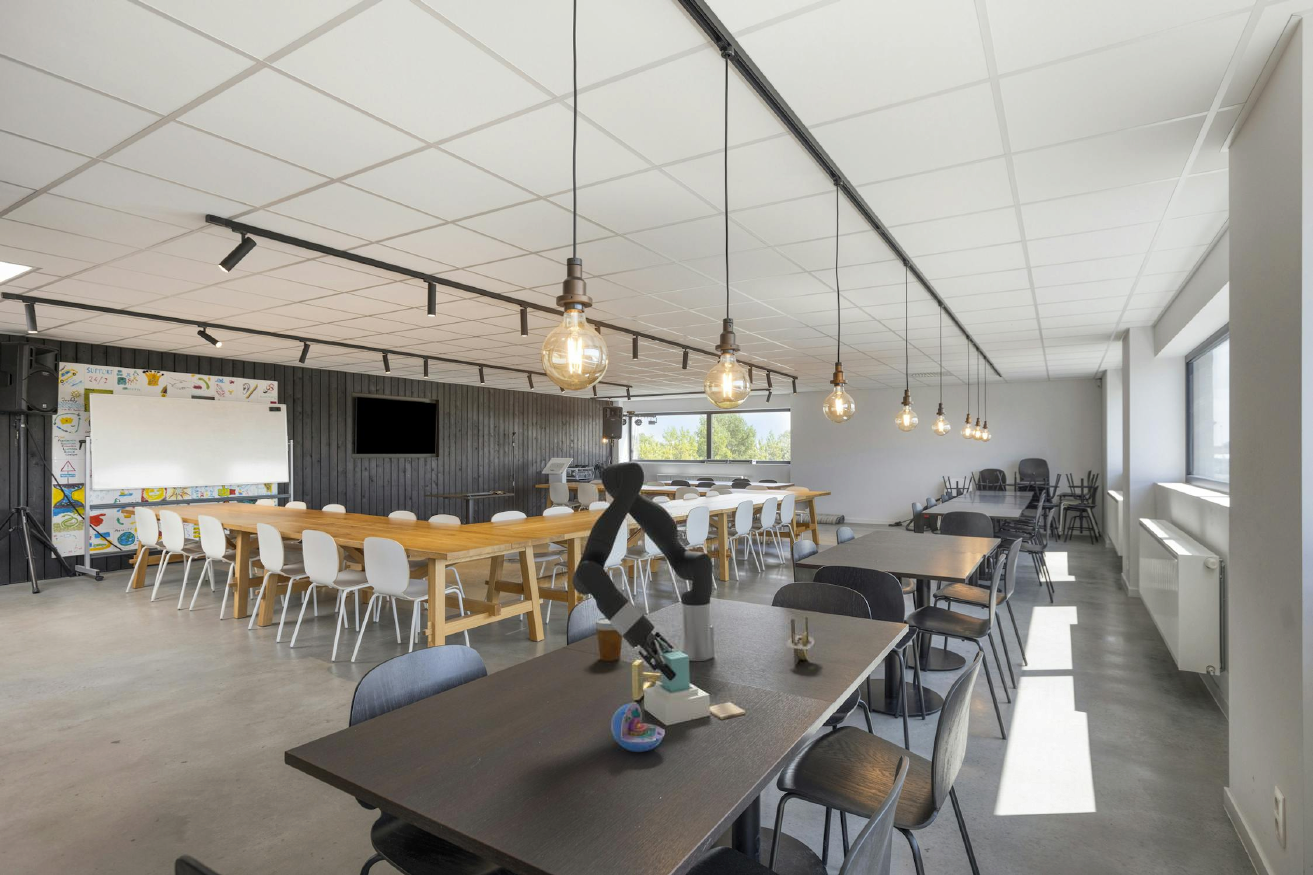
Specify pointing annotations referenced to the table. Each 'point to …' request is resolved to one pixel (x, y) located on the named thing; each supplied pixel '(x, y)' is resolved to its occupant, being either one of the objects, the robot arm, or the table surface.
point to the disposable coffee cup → (608, 640)
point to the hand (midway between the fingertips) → (677, 672)
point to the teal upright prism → (677, 672)
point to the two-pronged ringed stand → (794, 642)
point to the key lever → (641, 679)
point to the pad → (726, 710)
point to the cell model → (634, 729)
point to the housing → (676, 704)
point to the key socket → (655, 684)
